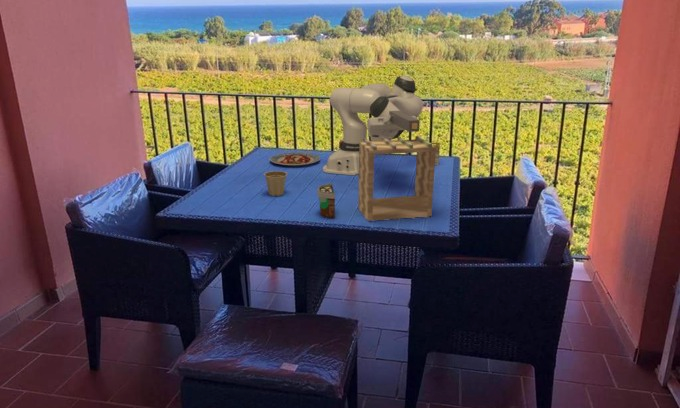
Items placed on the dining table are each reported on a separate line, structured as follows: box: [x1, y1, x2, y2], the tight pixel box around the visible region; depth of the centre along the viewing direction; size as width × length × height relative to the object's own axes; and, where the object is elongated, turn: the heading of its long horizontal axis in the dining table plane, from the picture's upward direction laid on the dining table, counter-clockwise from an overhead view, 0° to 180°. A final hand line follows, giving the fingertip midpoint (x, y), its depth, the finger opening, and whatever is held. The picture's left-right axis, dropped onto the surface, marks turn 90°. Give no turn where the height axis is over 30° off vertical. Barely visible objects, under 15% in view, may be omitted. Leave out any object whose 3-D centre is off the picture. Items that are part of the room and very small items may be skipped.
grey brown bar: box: [389, 111, 421, 133], centre depth 197 cm, size 24×4×4 cm, turn 13°
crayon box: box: [430, 142, 441, 166], centre depth 259 cm, size 7×3×12 cm, turn 98°
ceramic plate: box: [269, 151, 321, 167], centre depth 265 cm, size 26×26×3 cm
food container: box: [316, 183, 336, 219], centre depth 190 cm, size 12×6×10 cm, turn 5°
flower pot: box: [263, 170, 288, 197], centre depth 213 cm, size 9×9×9 cm
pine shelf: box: [357, 135, 436, 222], centre depth 189 cm, size 14×24×27 cm, turn 102°
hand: (397, 116), depth 204 cm, fingers closed on grey brown bar, 4 cm apart
